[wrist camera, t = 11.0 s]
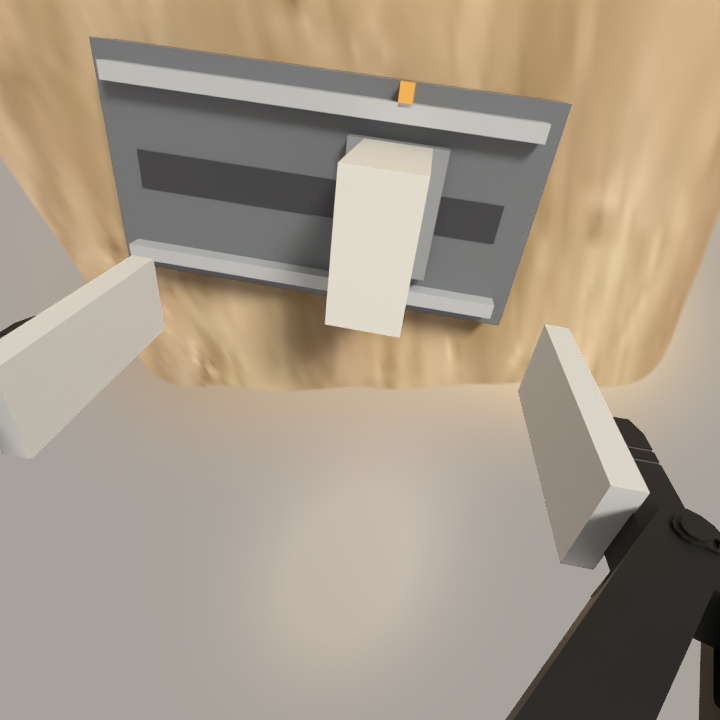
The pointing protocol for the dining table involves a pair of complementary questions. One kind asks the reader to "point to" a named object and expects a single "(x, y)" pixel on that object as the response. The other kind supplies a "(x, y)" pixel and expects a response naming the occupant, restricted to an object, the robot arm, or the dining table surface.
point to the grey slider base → (313, 168)
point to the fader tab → (381, 230)
